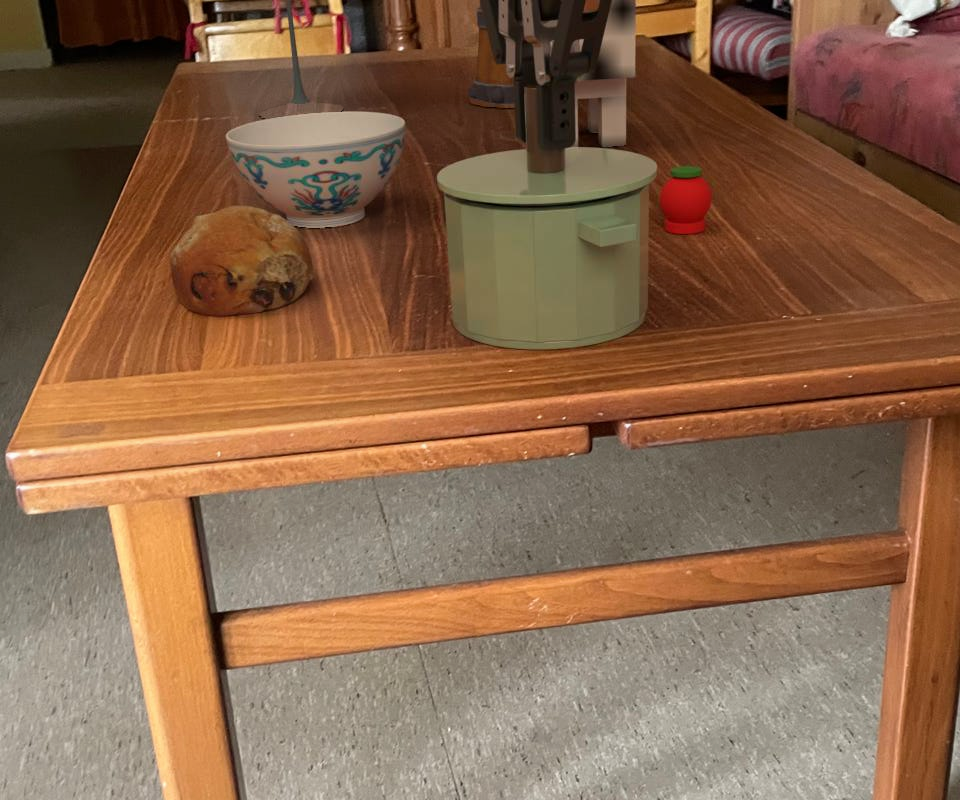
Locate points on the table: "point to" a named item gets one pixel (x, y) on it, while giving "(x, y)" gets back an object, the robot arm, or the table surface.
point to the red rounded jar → (685, 201)
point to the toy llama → (610, 77)
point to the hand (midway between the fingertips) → (545, 142)
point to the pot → (548, 270)
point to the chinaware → (319, 163)
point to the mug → (490, 72)
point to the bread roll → (240, 263)
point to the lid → (545, 171)
